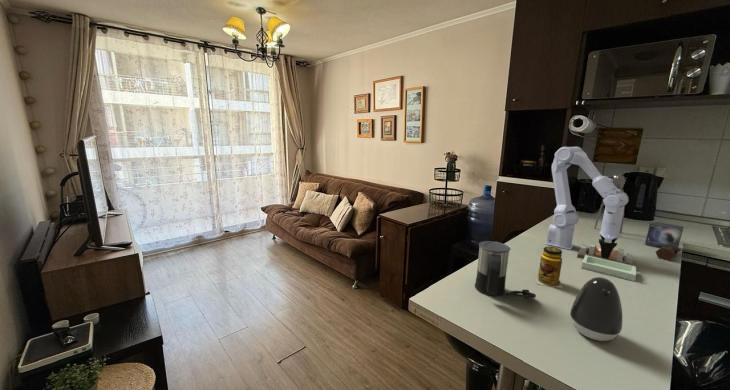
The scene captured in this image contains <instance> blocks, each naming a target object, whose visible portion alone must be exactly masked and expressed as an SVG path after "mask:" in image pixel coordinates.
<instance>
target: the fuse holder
mask: <svg viewBox="0 0 730 390" xmlns="http://www.w3.org/2000/svg"><path fill="white" fill-rule="evenodd" d="M589 249H590V247H588V245H587V244H584V243H583V244H581V245H580V247H579V250H578V252H577V256H576V257H577V258H579V259H582V260H584V257H585V255H587V256H592V257H596V258H601V259H605V260H609V261H614V262H618V263H622V264H627V265H631V266H634V255H633V254H630V253H629V254H628V253H626V255H623V258H622V262H620V261H615V260H611V259H606V258H602V257H597V256H593V255H589Z"/></svg>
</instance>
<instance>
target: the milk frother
mask: <svg viewBox="0 0 730 390" xmlns="http://www.w3.org/2000/svg"><path fill="white" fill-rule="evenodd" d="M478 246H479V248H478V249H479V250H478V259H477V260H478V261H477V270H476V278H475V283H474V288H475V290H477V291H478V292H479V293H482V294H484V295H487V296H494V297H499V296H503V295H505V296H511V297H516V298H521V299H534V298H536V297H537V294H536V293H534V292H533V293H532V292H530V290H529V289H522V290H511V291H509V292H506V279H507V271H508V264H509V257H510V256H509V254H510V251H511V250H512V249H511V247H510V246H509V245H507V244H504V243H502V242H499V241H492V240H484V241H480V242H479V243H478Z"/></svg>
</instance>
